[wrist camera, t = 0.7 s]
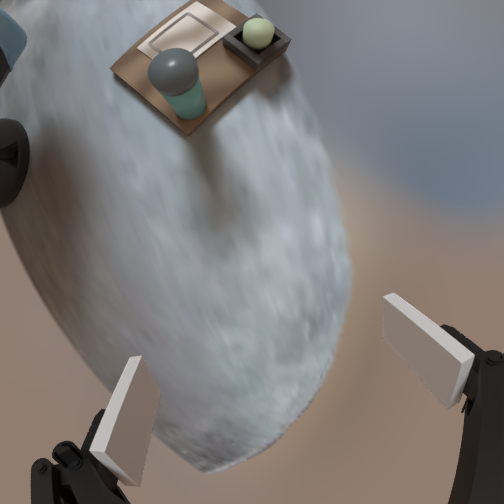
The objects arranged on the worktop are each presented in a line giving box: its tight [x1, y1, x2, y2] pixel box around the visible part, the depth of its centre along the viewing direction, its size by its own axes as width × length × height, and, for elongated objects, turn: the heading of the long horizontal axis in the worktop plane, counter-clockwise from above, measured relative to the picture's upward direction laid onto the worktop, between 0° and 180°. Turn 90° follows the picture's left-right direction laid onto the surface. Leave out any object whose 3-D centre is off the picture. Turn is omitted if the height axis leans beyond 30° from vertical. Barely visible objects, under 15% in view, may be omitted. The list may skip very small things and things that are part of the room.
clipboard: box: [109, 0, 291, 136], centre depth 27 cm, size 16×18×4 cm
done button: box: [242, 18, 275, 50], centre depth 25 cm, size 4×4×3 cm
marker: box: [148, 48, 206, 120], centre depth 24 cm, size 4×4×12 cm
